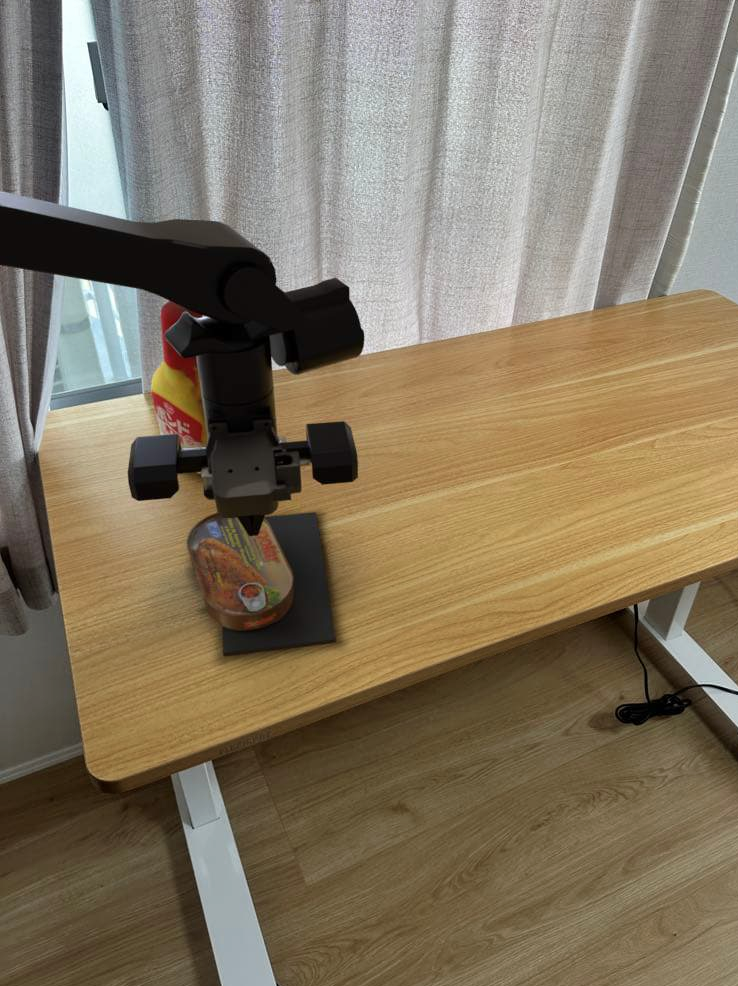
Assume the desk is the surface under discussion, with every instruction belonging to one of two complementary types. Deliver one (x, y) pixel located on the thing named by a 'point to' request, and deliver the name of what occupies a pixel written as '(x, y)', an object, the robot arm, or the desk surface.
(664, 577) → the desk surface
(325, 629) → the mat
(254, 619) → the tin
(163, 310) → the bottle
